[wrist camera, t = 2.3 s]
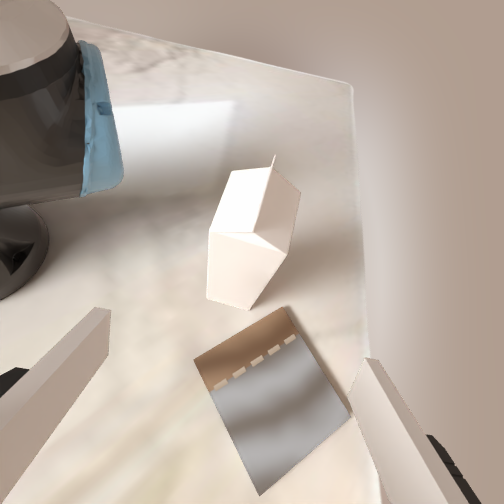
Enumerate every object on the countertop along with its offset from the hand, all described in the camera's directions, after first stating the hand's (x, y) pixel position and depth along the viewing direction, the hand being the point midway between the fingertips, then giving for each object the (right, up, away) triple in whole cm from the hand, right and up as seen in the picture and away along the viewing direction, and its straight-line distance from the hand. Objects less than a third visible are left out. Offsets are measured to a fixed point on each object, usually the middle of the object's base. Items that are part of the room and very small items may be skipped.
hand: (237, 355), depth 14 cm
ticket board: (+3, -11, +19) cm, 22 cm away
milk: (-2, +1, +24) cm, 24 cm away
